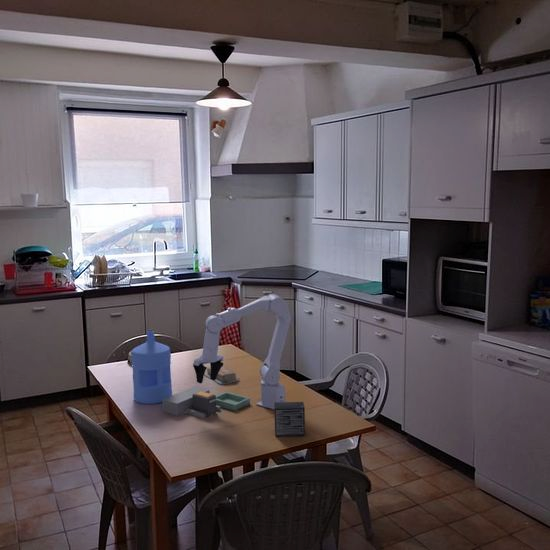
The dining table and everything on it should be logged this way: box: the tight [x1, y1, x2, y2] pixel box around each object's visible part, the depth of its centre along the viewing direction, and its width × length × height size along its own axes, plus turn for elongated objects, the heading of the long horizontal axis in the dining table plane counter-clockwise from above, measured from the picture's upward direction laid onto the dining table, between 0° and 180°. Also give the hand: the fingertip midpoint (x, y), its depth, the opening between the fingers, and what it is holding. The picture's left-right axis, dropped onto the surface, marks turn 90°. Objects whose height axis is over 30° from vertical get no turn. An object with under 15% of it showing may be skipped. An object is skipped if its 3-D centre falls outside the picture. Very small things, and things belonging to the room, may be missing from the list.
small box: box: [273, 401, 306, 438], centre depth 203 cm, size 11×6×10 cm, turn 92°
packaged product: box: [204, 365, 240, 386], centre depth 264 cm, size 18×5×10 cm
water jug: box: [131, 330, 173, 405], centre depth 237 cm, size 16×16×28 cm
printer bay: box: [162, 386, 222, 419], centre depth 226 cm, size 18×18×5 cm
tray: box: [216, 391, 251, 412], centre depth 231 cm, size 13×9×2 cm
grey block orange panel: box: [192, 391, 217, 417], centre depth 222 cm, size 8×4×7 cm, turn 54°
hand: (206, 381), depth 223 cm, fingers open, 7 cm apart
